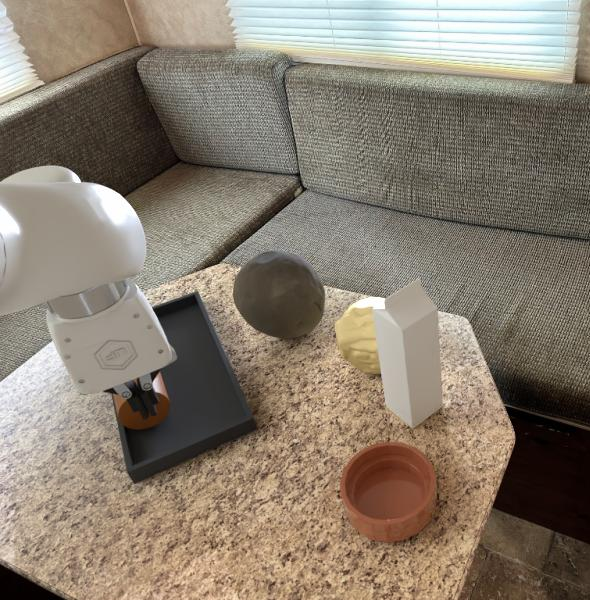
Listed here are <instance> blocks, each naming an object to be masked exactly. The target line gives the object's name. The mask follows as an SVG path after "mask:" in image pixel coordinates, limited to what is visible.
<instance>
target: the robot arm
mask: <svg viewBox="0 0 590 600" xmlns="http://www.w3.org/2000/svg"><path fill="white" fill-rule="evenodd" d="M147 247H148V246H147V237H146V233H145V230H144V227H143V224H142V222H141V220H140V218H139V216H138V214H137V212H136V211H135V209H134V208H133V207H132V205H131V204H130V203H129V202H128V201H127V200H126V198H124V197H123V196H122V195H121V194H120V193H118V192H116V191H115V190H113V189H112V188H109V187H107V186H105V185H102V184H99V183H95V182H86V181H81V179H80V178H79V176H78V175H77V174H76V173H75V172H73V170H71V169H69V168H67V167H64V166H60V165H41V166H35V167H31V168H26V169H23V170H20V171H18V172H16V173H13V174H12V175H9V176H8V177H5V178H4V179H3V180H1V181H0V317H2V316H7V315H10V314H14V313H18V312H20V311H24V310H27V309H31V310H33V309H37V308H44V309H46V314H45V321H46V325H47V329H48V331H49V334H50V337H51V340H52V342H53V345H54V347H55V350H56V352H57V354H58V356H59V358H60V360H61V362H62V365H63V366H64V368H65V370H66V372H67V374H68V376H69V378H70V380H71V382H72V383H73V386H74V387H75V388H76V390H77V391H78V393H79V395H80V396H88V395H96V394H99V393H101V392H103V393H107V394H111V393H112V394H117V395H119V396H120V397H121V398H123V399H126V400H127V402H128V403H129V405H130V407H131V409H132V411H133V413H136V412H138V411H139V412H140V414H141V416H142V418H143V420H146V419H148V417H149V414H150V416H155V415H157V412H156V408H155V404H158V403H160V402H159V399H158V396H157V394H156V392H155V390H154V388H153V381H154V380H155V378H156V377H157V375H158V373H159V372H160V370H161V368H162V367H165V366H167V365H169V364H170V363H172V362H174V361H175V360H176V359H177V355H176V352H175V350H174V349H173V347H172V346H171V345H170V344H169V343H168V340H167V338H166V336H165V333H164V330H163V328H162V326H161V324H160V322H159V320H158V318H157V316H156V315H155V313H154V311H153V309H152V307H153V306H152V305H151V304H150V302H149V301H148V299H147V298H146V296H145V294H144V292H143V291H142V290H141V289H140V288H139V285H137V283H136V282H134V280H132V278H134V277H137V276H138V275H139V274H140V273H141V272H142V270H143V268H144V265H145V263H146V260H147V259H146V258H147V251H148V249H147ZM136 378H137V381H136V382H137V384H136V382H135V381H134V382H133V379H136ZM148 412H149V413H148Z"/></svg>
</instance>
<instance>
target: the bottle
mask: <svg viewBox="0 0 590 600" xmlns="http://www.w3.org/2000/svg"><path fill="white" fill-rule="evenodd" d="M134 381H135V382H136V381H137V378H136V379H133V382H134ZM136 384H137V382H136ZM153 388H154V390H155V392H156V394H157V396H158V399H159V402H160V403H158V404H155V408H156V412H157V415H155V416H150V414H149V417H148V419H146V420H143V418H142V416H141V414H140V412H139V411H138V412H136V413H133V411H132V409H131V407H130V405H129V403H128V402H127V400H126V399H123V398H121V397H120V396H119V395H117V394H113V397H114V401H115V406H116V410H117V415H118V419H119V421H120V422H121V424H123V425H124V426H125V427H127V428H130V429H137V430H139V429H147V428H150V427H153V426H155V425H157V424H159V423H160V422H161V421H163V420H164V419H165V418H166V416H167V415H168V413H169V411H170V401H169V398H168V395H167V392H166V389H165V386H164V383H163V379H162V376H161V373H160V372H159V373H158V375H157V377H156V378H155V380H154V381H153ZM148 413H149V412H148Z"/></svg>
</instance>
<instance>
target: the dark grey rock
mask: <svg viewBox="0 0 590 600" xmlns="http://www.w3.org/2000/svg"><path fill="white" fill-rule="evenodd" d="M232 299H233V303H234V305H235V308H236V309H237V311H238V313H239V314H240V316H241V317H242V318H243V319H244V321H245V322H246V323H247V324H248V325H249V326H250V327H251V328H252V329H254V330H255V331H257V332H259V333H260V334H263V335H266V336H269V337H271V338H276V339H284V340H285V339H286V340H288V339H296V338H299V337H302V336H305V335H307V334H309V333H311V332H312V331H313V330H314V329H316V328H317V326H318V325H319V324H320V323H321V321H322V320H323V319H322V318H323V315H324V312H325V306H326V290H325V286H324V283H323V281H322V278H321V277H320V275H319V273H318V272H317V270H316V269H315V268H314V267H313V266H312V264H311V263H310V262H308V261H307V259H305V258H303V257H301V256H300V255H298V254H295V253H293V252H290V251H287V250H279V249H273V250H266V251H261V252H260V253H257V254H256V255H253V256H252V257H251V258H249V259H248V260H247V261H246V263H244V265H242V266H241V268H240V269H239V271H238V272H237V274H236V276H235V278H234V281H233V288H232Z"/></svg>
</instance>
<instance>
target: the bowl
mask: <svg viewBox="0 0 590 600" xmlns="http://www.w3.org/2000/svg"><path fill="white" fill-rule="evenodd" d="M340 477H341V478H340V482H339V487H340V488H339V489H340V496H341V501H342V505H343V508H344V512H345V515H346V517H347V519H348V521H349V523H350V526H351V527H352V528H353V529H355V530H356V531H357V532H358V533H359V534H360V535H362V536H363V537H365V538H368V539H369V540H372V541H376V542H384V543H394V542H399V541H404V540H407V539H410V538H411V537H413V536H415V535H416V534H418V533H420V532H421V531H422V530H423V529H424V528H425V527H426V525H428V524H429V523H430V521H431V520H432V518H433V516H434V514H435V511H436V509H437V501H438V489H437V475H436V473H435V470H434V466H433V464H432V462H431V461H430V460H429V458H428V457H427V454H425V453H424V452H423V451H422V450H419V448H417V447H415V446H414V445H411V444H407V443H405V442H401V441H383V442H377V443H373V444H371V445H369V446H367V447H365V448H363V449H361V450H360V451H359V452H357V453H356V454H355V455H354V456H353V457H351V458H350V459H349V461H348V462H347V464H346V465H345V467H344V469H343V470H342V474H341V476H340Z"/></svg>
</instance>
